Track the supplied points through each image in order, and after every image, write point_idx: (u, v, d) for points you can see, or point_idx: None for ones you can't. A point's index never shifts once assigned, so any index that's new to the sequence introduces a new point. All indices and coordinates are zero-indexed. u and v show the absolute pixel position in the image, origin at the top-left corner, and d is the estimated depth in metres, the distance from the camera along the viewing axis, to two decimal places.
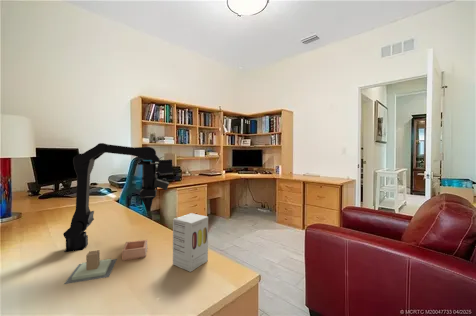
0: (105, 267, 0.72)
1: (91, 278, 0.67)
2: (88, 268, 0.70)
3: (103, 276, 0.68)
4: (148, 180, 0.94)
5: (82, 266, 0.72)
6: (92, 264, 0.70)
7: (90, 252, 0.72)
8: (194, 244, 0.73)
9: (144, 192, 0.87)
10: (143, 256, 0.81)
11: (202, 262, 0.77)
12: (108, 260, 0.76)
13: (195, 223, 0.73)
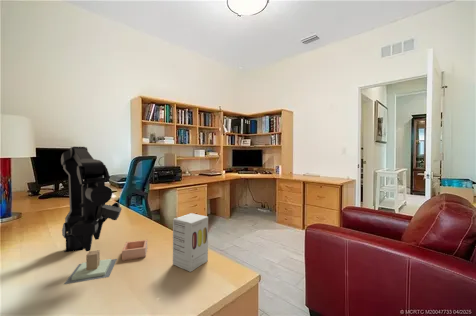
0: (105, 267, 0.72)
1: (91, 278, 0.67)
2: (88, 268, 0.70)
3: (103, 276, 0.68)
4: (88, 208, 0.68)
5: (82, 266, 0.72)
6: (92, 264, 0.70)
7: (90, 252, 0.72)
8: (194, 244, 0.73)
9: (77, 228, 0.62)
10: (143, 256, 0.81)
11: (202, 262, 0.77)
12: (108, 260, 0.76)
13: (195, 223, 0.73)
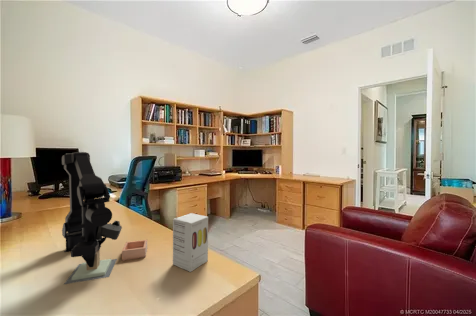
0: (105, 267, 0.72)
1: (91, 278, 0.67)
2: (88, 268, 0.70)
3: (103, 276, 0.68)
4: (88, 229, 0.69)
5: (82, 266, 0.72)
6: None
7: None
8: (194, 244, 0.73)
9: (77, 250, 0.62)
10: (143, 256, 0.81)
11: (202, 262, 0.77)
12: (108, 260, 0.76)
13: (195, 223, 0.73)
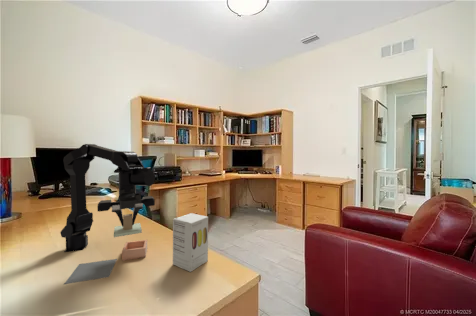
0: (123, 232, 0.76)
1: (91, 278, 0.67)
2: (123, 226, 0.81)
3: (103, 276, 0.68)
4: None
5: None
6: (123, 224, 0.79)
7: (129, 214, 0.81)
8: (194, 244, 0.73)
9: None
10: (143, 256, 0.81)
11: (202, 262, 0.77)
12: (138, 230, 0.79)
13: (195, 223, 0.73)
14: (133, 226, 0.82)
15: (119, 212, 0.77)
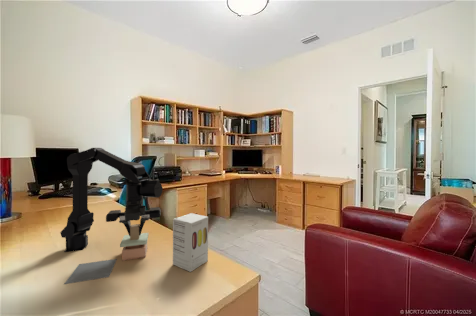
0: (129, 242, 0.79)
1: (91, 278, 0.67)
2: None
3: (103, 276, 0.68)
4: None
5: (140, 234, 0.87)
6: None
7: (136, 224, 0.84)
8: (194, 244, 0.73)
9: None
10: (143, 256, 0.81)
11: (202, 262, 0.77)
12: (143, 241, 0.81)
13: (195, 223, 0.73)
14: (140, 236, 0.85)
15: (126, 223, 0.80)
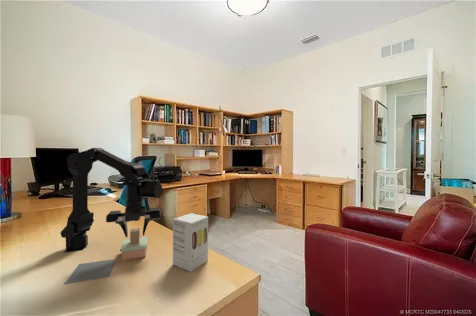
0: (129, 247, 0.79)
1: (91, 278, 0.67)
2: None
3: (103, 276, 0.68)
4: None
5: (140, 238, 0.87)
6: None
7: (136, 229, 0.84)
8: (194, 244, 0.73)
9: None
10: (143, 256, 0.81)
11: (202, 262, 0.77)
12: (143, 245, 0.81)
13: (195, 223, 0.73)
14: (140, 240, 0.85)
15: (122, 224, 0.79)
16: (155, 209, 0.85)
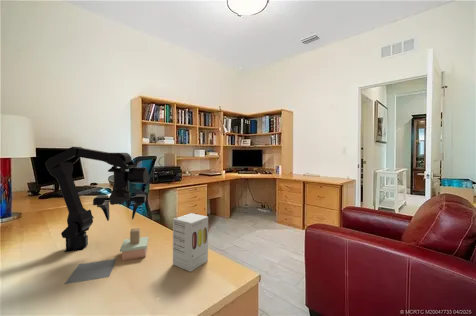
0: (129, 247, 0.79)
1: (91, 278, 0.67)
2: None
3: (103, 276, 0.68)
4: None
5: (140, 238, 0.87)
6: None
7: (136, 229, 0.84)
8: (194, 244, 0.73)
9: None
10: (143, 256, 0.81)
11: (202, 262, 0.77)
12: (143, 245, 0.81)
13: (195, 223, 0.73)
14: (140, 240, 0.85)
15: (103, 207, 0.85)
16: (140, 195, 0.90)
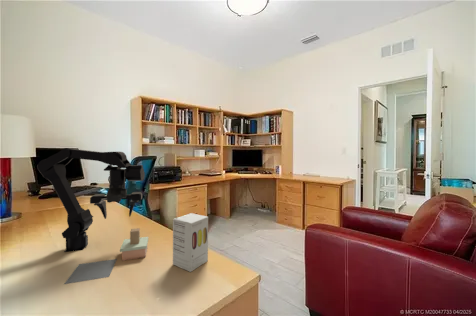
0: (129, 247, 0.79)
1: (91, 278, 0.67)
2: None
3: (103, 276, 0.68)
4: None
5: (140, 238, 0.87)
6: None
7: (136, 229, 0.84)
8: (194, 244, 0.73)
9: None
10: (143, 256, 0.81)
11: (202, 262, 0.77)
12: (143, 245, 0.81)
13: (195, 223, 0.73)
14: (140, 240, 0.85)
15: (101, 205, 0.86)
16: (136, 193, 0.92)
